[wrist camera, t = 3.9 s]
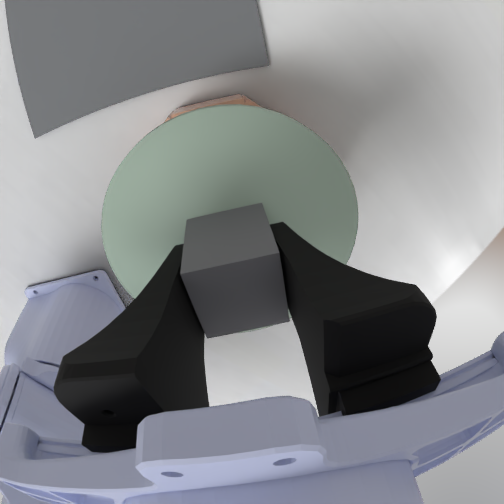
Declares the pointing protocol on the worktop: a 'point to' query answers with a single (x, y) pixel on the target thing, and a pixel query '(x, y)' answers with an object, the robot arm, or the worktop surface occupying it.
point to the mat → (123, 50)
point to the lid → (227, 210)
